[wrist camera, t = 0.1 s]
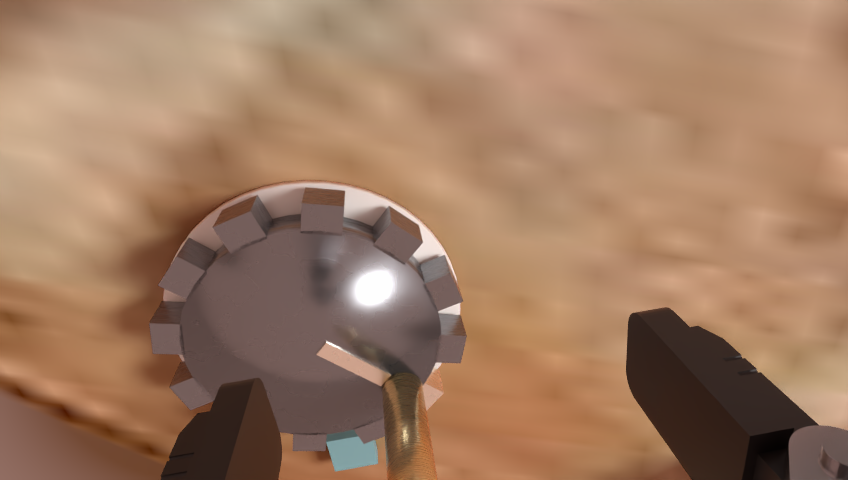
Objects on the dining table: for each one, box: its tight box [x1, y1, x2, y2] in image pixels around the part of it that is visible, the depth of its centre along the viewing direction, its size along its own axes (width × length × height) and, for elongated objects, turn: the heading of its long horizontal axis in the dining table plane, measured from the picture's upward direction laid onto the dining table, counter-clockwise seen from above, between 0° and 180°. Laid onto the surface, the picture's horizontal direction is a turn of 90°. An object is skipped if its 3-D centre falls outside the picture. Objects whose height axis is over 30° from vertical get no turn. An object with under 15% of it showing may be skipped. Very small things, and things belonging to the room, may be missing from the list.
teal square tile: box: [326, 430, 378, 471], centre depth 35 cm, size 3×3×1 cm
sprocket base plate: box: [163, 180, 460, 369], centre depth 30 cm, size 17×17×1 cm
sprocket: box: [149, 187, 467, 480], centre depth 24 cm, size 17×17×14 cm
